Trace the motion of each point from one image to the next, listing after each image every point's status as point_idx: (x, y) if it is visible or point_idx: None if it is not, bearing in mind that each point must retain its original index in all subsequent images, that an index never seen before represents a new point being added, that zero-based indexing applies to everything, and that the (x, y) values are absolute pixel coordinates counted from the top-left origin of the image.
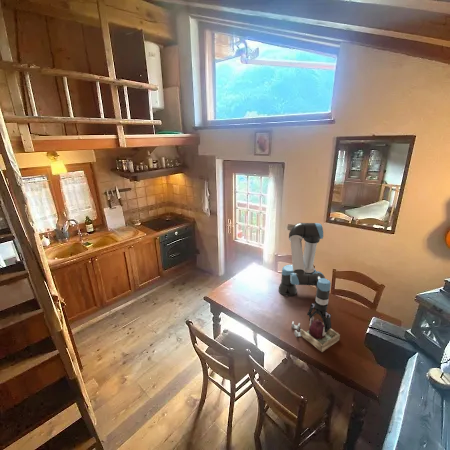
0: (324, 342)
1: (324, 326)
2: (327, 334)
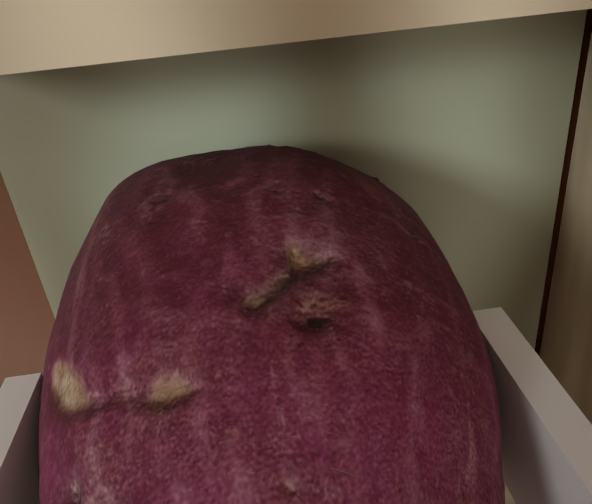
0: (474, 290)
1: (461, 418)
2: (371, 53)
